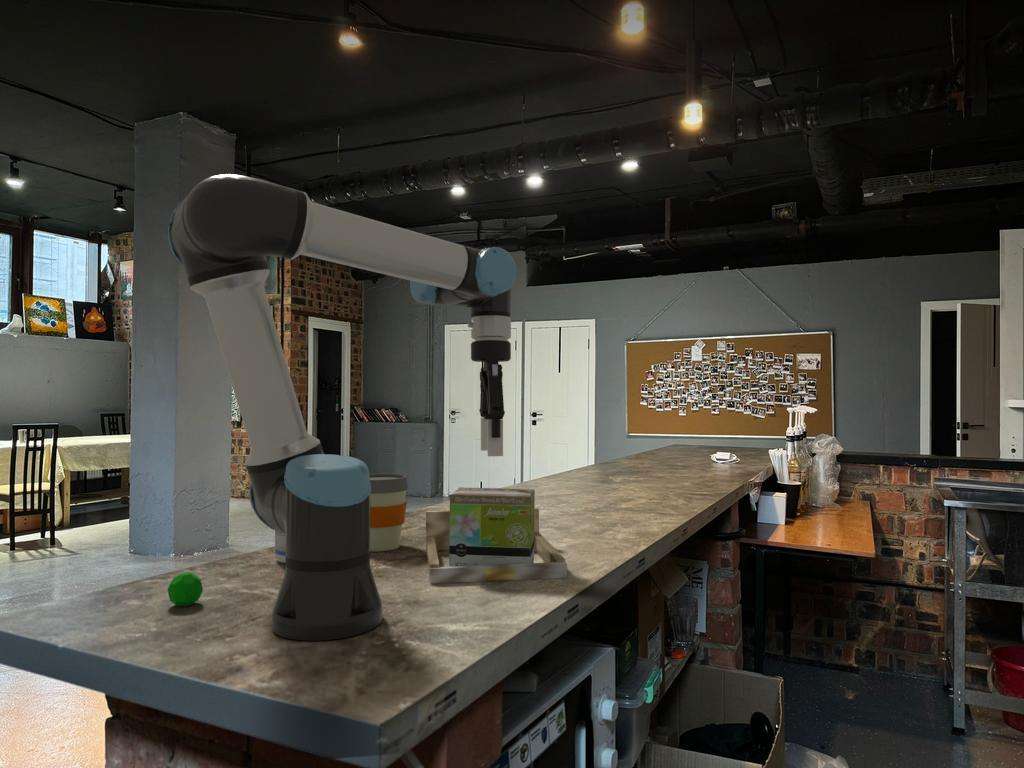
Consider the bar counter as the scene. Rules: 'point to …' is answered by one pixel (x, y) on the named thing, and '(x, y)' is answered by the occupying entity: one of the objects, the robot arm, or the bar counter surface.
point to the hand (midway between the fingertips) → (491, 453)
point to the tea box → (491, 526)
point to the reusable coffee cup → (387, 510)
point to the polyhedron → (185, 589)
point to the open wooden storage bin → (440, 541)
